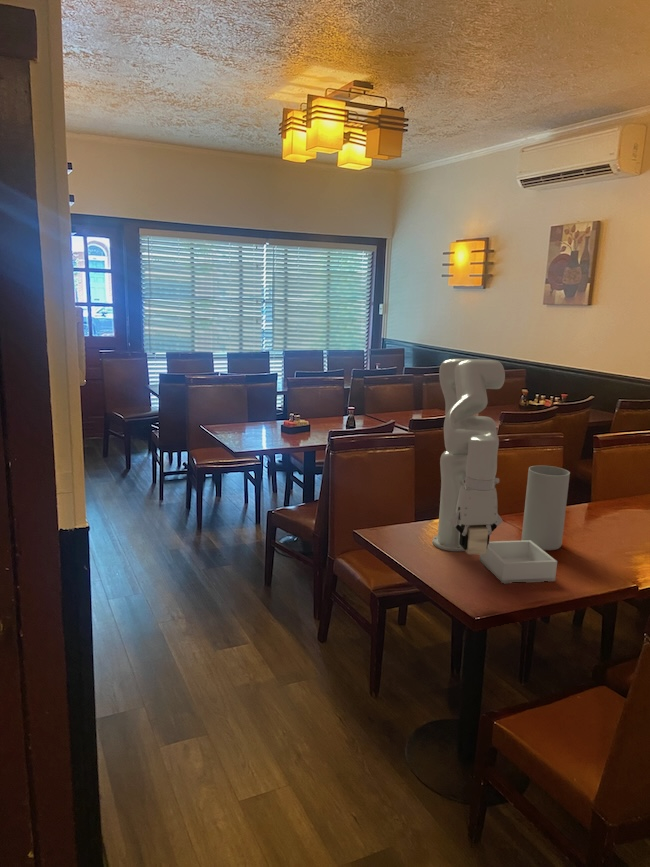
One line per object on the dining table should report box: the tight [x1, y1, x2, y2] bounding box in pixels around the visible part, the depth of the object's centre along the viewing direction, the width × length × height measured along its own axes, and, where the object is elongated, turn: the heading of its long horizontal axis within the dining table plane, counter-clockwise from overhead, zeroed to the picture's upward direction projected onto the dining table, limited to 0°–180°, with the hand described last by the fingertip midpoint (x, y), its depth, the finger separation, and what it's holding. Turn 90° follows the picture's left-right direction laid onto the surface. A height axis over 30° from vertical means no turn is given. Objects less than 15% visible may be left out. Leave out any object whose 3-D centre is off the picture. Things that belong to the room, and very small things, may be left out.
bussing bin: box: [479, 539, 558, 584], centre depth 184 cm, size 16×16×6 cm
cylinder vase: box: [521, 465, 571, 551], centre depth 203 cm, size 12×12×25 cm
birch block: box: [461, 525, 488, 555], centre depth 168 cm, size 5×5×7 cm
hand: (473, 546), depth 168 cm, fingers closed on birch block, 5 cm apart
